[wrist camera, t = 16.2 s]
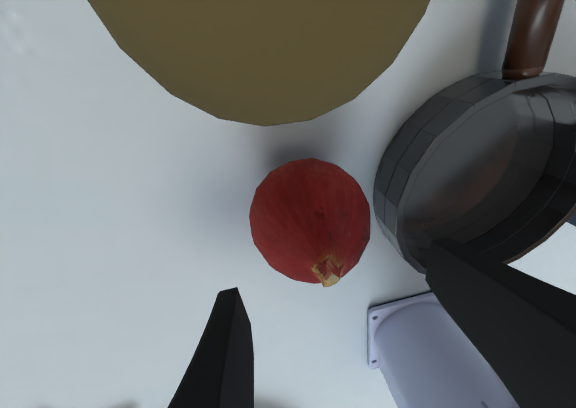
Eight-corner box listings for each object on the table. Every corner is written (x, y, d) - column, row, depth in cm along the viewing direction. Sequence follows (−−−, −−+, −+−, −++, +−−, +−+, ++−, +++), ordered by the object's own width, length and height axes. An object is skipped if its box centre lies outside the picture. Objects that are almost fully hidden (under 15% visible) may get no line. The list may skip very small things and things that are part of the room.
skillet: (523, 230, 22) (561, 254, 20) (372, 267, 21) (391, 297, 19) (589, 50, 15) (660, 51, 13) (373, 94, 15) (403, 104, 12)
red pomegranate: (355, 154, 16) (444, 232, 9) (320, 232, 19) (369, 338, 12) (262, 127, 14) (287, 196, 8) (236, 216, 17) (238, 330, 10)
